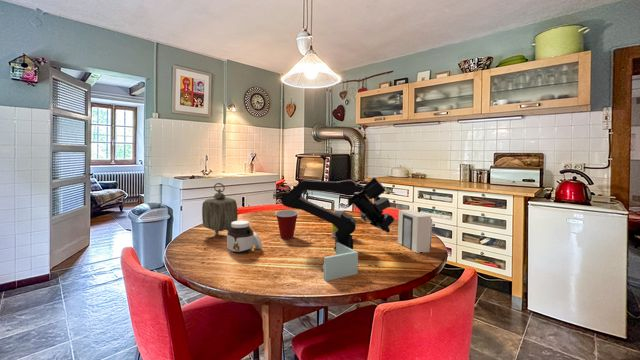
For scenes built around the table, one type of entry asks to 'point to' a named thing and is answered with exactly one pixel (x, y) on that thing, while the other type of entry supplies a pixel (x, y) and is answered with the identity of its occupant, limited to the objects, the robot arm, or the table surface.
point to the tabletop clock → (219, 212)
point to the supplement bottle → (334, 229)
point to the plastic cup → (287, 223)
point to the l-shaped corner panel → (340, 263)
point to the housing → (415, 230)
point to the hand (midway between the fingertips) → (388, 231)
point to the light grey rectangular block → (408, 232)
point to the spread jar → (242, 238)
